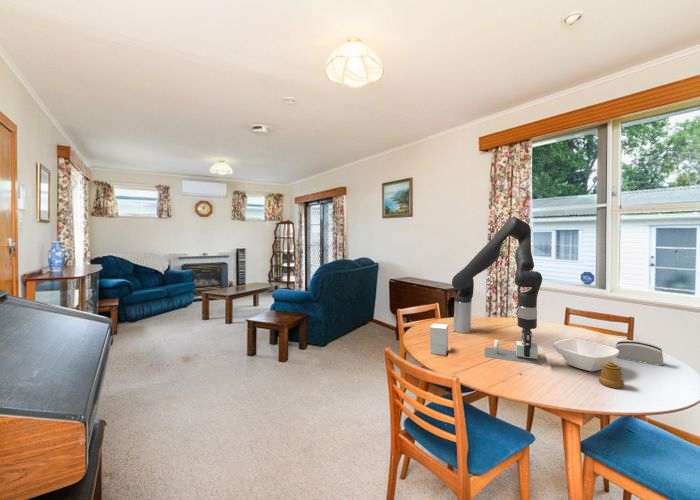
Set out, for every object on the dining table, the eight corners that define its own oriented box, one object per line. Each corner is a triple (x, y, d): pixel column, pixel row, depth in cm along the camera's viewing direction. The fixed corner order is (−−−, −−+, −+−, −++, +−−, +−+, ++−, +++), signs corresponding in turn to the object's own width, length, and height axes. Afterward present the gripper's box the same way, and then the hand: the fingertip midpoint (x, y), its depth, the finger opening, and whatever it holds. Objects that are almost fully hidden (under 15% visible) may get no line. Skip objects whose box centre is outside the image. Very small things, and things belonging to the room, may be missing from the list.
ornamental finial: (596, 384, 125) (601, 378, 130) (621, 391, 120) (625, 385, 125) (596, 363, 125) (602, 358, 130) (622, 369, 119) (626, 364, 124)
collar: (516, 356, 147) (516, 344, 147) (515, 351, 153) (516, 340, 153) (537, 358, 144) (537, 347, 144) (535, 354, 150) (536, 343, 149)
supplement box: (448, 350, 162) (448, 324, 161) (445, 355, 155) (446, 328, 154) (432, 348, 165) (433, 322, 164) (429, 353, 158) (430, 326, 157)
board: (484, 360, 149) (484, 343, 149) (485, 350, 162) (485, 334, 161) (541, 368, 140) (541, 350, 140) (537, 356, 153) (537, 340, 153)
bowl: (598, 381, 128) (599, 359, 127) (545, 363, 146) (546, 343, 146) (626, 371, 137) (627, 350, 137) (573, 354, 156) (573, 336, 155)
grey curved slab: (662, 362, 146) (664, 343, 143) (663, 369, 143) (665, 349, 140) (614, 354, 157) (614, 335, 153) (613, 360, 153) (614, 341, 150)
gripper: (516, 312, 156) (515, 347, 157) (518, 319, 143) (517, 358, 143) (535, 313, 153) (534, 350, 154) (538, 321, 140) (537, 361, 140)
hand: (526, 353), depth 149 cm, fingers closed on collar, 6 cm apart
